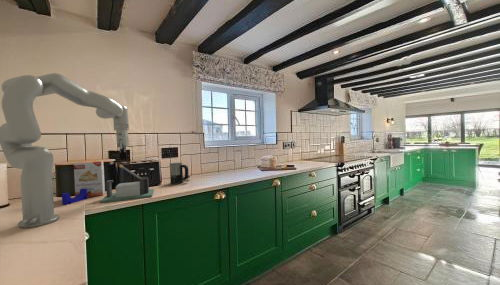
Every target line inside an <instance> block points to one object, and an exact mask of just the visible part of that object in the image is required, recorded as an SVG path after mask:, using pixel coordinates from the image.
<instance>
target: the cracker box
mask: <svg viewBox="0 0 500 285" xmlns="http://www.w3.org/2000/svg"><path fill="white" fill-rule="evenodd" d="M73 174H74V176H73V178H74V194H75V196H76V195H78V194H79V193H80V189H87V198H91V197H99V196H100V197H102V196H104V195H105V194H106V182H105V167H104V160H97V161H80V162H79V161H77V162H74V163H73ZM75 196H74V197H75Z"/></svg>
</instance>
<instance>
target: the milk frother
mask: <svg viewBox="0 0 500 285" xmlns="http://www.w3.org/2000/svg"><path fill="white" fill-rule="evenodd" d="M182 163H183V162H170V163H169V175H170V182H169V183H170V184H171V185H176V184H177V185H179V184H182V183H184V181H186V180H188V179H189V178H191V175H189V166H188V165H187V164H182ZM183 169H184V171H183ZM183 172H184V173H183ZM183 174H184V175H183Z"/></svg>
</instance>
